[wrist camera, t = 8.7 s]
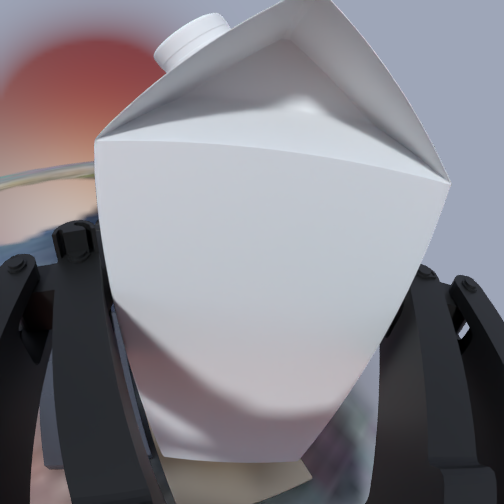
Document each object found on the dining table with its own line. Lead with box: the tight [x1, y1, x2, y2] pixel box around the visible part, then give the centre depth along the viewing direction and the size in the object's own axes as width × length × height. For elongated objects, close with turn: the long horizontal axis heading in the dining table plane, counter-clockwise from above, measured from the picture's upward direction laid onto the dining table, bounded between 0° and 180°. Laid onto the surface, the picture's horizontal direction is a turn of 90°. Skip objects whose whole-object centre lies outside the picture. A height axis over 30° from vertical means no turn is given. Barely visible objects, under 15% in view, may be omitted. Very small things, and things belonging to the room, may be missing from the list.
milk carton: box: [94, 0, 452, 463], centre depth 11 cm, size 7×7×19 cm
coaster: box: [145, 412, 312, 504], centre depth 20 cm, size 10×10×1 cm
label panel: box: [39, 312, 153, 469], centre depth 22 cm, size 16×9×1 cm, turn 25°
